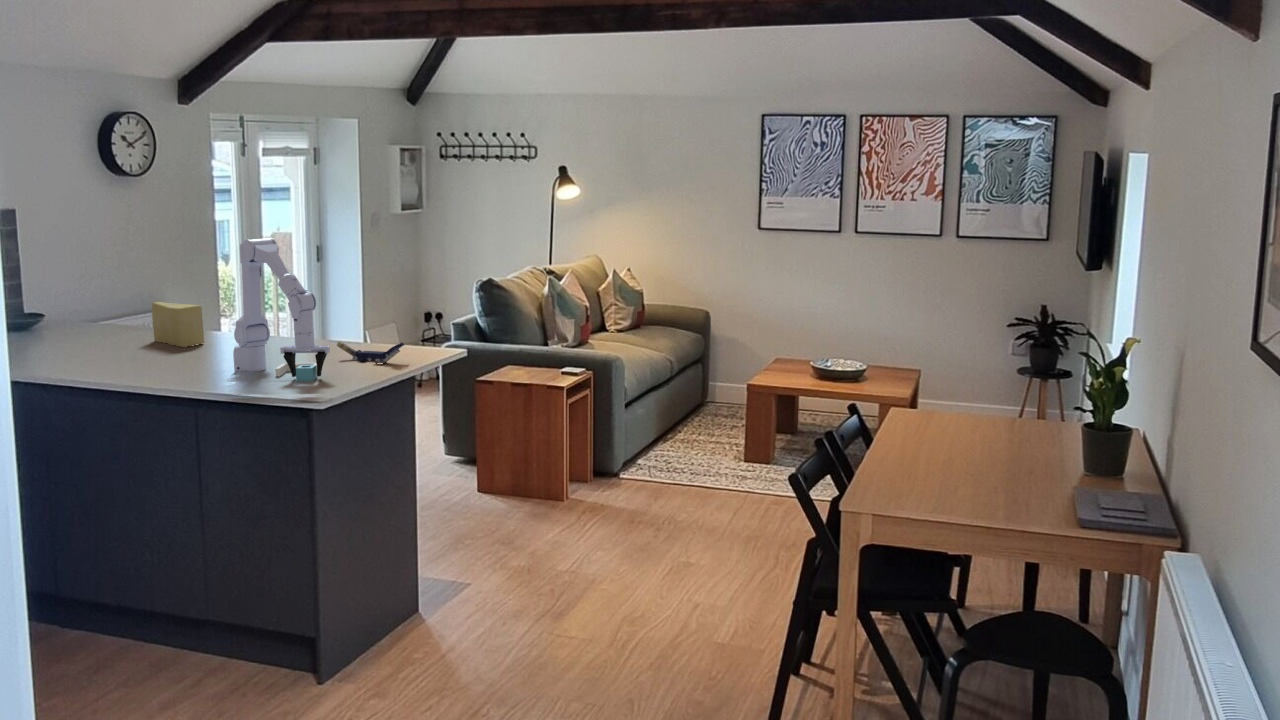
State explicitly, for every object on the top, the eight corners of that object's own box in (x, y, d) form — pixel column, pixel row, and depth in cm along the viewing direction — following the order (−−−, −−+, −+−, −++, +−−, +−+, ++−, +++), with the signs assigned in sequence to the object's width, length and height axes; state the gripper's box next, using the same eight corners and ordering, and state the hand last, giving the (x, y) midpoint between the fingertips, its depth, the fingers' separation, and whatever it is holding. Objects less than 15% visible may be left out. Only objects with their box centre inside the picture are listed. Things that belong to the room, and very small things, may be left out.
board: (264, 385, 347) (263, 372, 346) (289, 367, 374) (288, 355, 373) (321, 384, 347) (320, 371, 346) (341, 366, 374) (340, 354, 373)
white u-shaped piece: (275, 376, 354) (275, 368, 353) (283, 370, 363) (283, 363, 362) (312, 376, 354) (312, 368, 354) (319, 370, 363) (319, 362, 362)
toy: (390, 375, 375) (395, 346, 373) (328, 358, 378) (333, 329, 376) (402, 369, 384) (407, 341, 382) (342, 353, 388) (346, 324, 385)
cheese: (144, 343, 421) (140, 303, 418) (167, 339, 429) (163, 299, 426) (183, 348, 409) (179, 307, 407) (205, 344, 418) (202, 304, 415)
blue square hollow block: (296, 381, 347) (295, 368, 347) (300, 377, 352) (300, 365, 351) (313, 380, 347) (312, 368, 347) (317, 377, 352) (316, 364, 352)
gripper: (276, 334, 343) (279, 379, 345) (324, 334, 343) (327, 378, 346) (282, 331, 350) (285, 374, 352) (330, 330, 350) (332, 373, 353)
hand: (306, 376), depth 350 cm, fingers open, 7 cm apart
